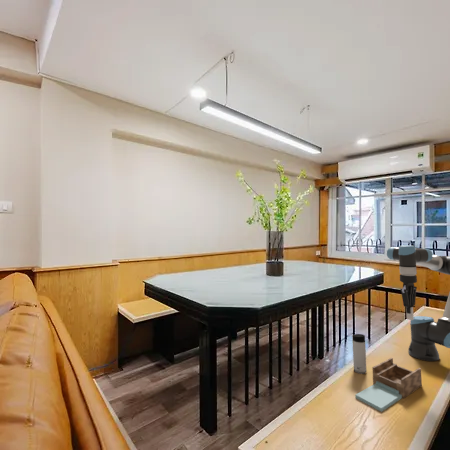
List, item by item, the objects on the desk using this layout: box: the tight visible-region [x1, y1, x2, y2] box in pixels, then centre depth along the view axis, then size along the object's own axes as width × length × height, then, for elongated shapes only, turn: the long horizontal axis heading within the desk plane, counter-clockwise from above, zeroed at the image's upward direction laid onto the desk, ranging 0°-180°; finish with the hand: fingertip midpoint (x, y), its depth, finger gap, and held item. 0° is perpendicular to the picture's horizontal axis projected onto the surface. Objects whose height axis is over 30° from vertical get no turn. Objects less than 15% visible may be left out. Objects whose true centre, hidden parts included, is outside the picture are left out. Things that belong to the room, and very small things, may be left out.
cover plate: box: [355, 381, 403, 413], centre depth 125 cm, size 17×12×4 cm
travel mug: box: [352, 333, 368, 375], centre depth 149 cm, size 6×7×20 cm
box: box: [371, 357, 423, 400], centre depth 135 cm, size 18×14×8 cm
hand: (410, 319), depth 144 cm, fingers closed
